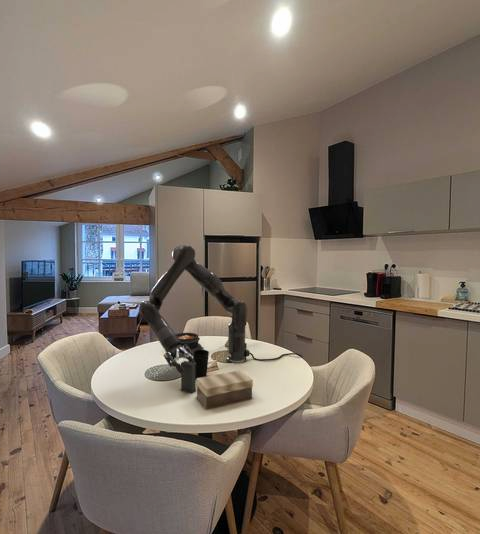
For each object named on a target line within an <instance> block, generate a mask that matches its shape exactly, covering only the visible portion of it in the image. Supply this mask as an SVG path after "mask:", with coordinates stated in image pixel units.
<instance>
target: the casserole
mask: <svg viewBox="0 0 480 534" xmlns="http://www.w3.org/2000/svg"><path fill="white" fill-rule="evenodd" d="M175 334H176V336H177V337H178V338H179V340H180V341H181V343H180V344H181V346H184V345H185V344H187V345H188V347H189V348H190V349H191V350H192V352H193V351H195V350H204V347H203V346H202V344H201V343H199V341H200V336H199V334H197V333H194V332H180V333H175ZM189 354H191V353H190V352H189Z"/></svg>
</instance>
